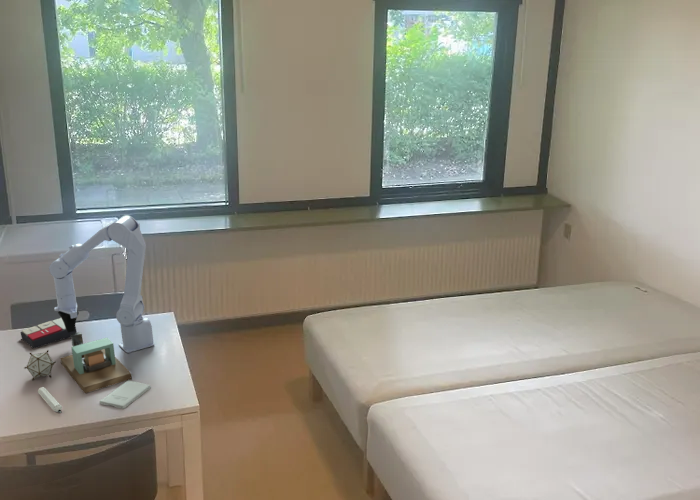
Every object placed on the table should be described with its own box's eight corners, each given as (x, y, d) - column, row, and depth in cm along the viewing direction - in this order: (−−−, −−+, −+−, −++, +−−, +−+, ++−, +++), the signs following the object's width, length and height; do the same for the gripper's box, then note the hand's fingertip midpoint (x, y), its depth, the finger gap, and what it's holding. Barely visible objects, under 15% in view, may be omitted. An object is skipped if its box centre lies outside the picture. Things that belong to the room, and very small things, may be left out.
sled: (88, 340, 225) (86, 329, 223) (110, 365, 208) (109, 353, 207) (65, 347, 220) (63, 335, 219) (86, 372, 204) (85, 360, 203)
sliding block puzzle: (19, 329, 231) (62, 315, 241) (22, 341, 233) (65, 326, 243) (31, 339, 224) (75, 324, 234) (33, 351, 225) (77, 335, 235)
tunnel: (109, 357, 214) (107, 337, 212) (115, 363, 210) (113, 343, 208) (74, 367, 208) (71, 347, 206) (79, 374, 204) (76, 353, 201)
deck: (105, 351, 223) (104, 345, 222) (131, 378, 205) (131, 373, 204) (61, 363, 215) (60, 357, 214) (84, 393, 197) (83, 387, 196)
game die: (46, 389, 206) (40, 375, 198) (21, 378, 207) (15, 364, 199) (64, 365, 212) (59, 351, 204) (40, 355, 212) (34, 339, 204)
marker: (61, 418, 186) (41, 395, 197) (67, 412, 187) (47, 390, 198) (55, 412, 184) (35, 390, 196) (61, 407, 185) (41, 385, 197)
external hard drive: (150, 389, 200) (123, 410, 189) (127, 384, 203) (99, 405, 191) (150, 384, 199) (123, 405, 188) (127, 380, 202) (99, 400, 191)
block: (100, 361, 212) (98, 348, 210) (104, 366, 208) (103, 353, 207) (85, 365, 209) (83, 352, 208) (90, 370, 206) (88, 357, 204)
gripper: (46, 289, 224) (52, 327, 229) (59, 302, 214) (64, 341, 218) (68, 284, 229) (73, 321, 233) (81, 297, 218) (87, 336, 222)
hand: (70, 331), depth 226 cm, fingers closed
